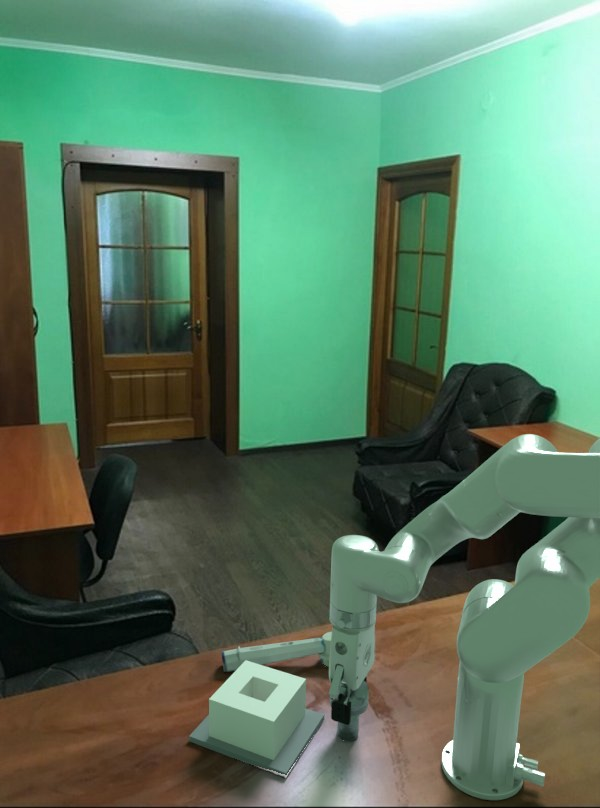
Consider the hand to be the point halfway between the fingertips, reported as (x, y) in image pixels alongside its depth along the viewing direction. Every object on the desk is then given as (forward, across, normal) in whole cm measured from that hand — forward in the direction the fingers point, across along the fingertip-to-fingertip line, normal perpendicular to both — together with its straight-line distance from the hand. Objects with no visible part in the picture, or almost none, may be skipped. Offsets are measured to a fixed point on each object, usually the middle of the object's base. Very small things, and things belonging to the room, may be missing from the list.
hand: (348, 707), depth 110 cm
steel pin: (+5, 0, 0) cm, 5 cm away
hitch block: (+5, -6, +14) cm, 16 cm away
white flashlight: (+6, +13, +18) cm, 23 cm away
